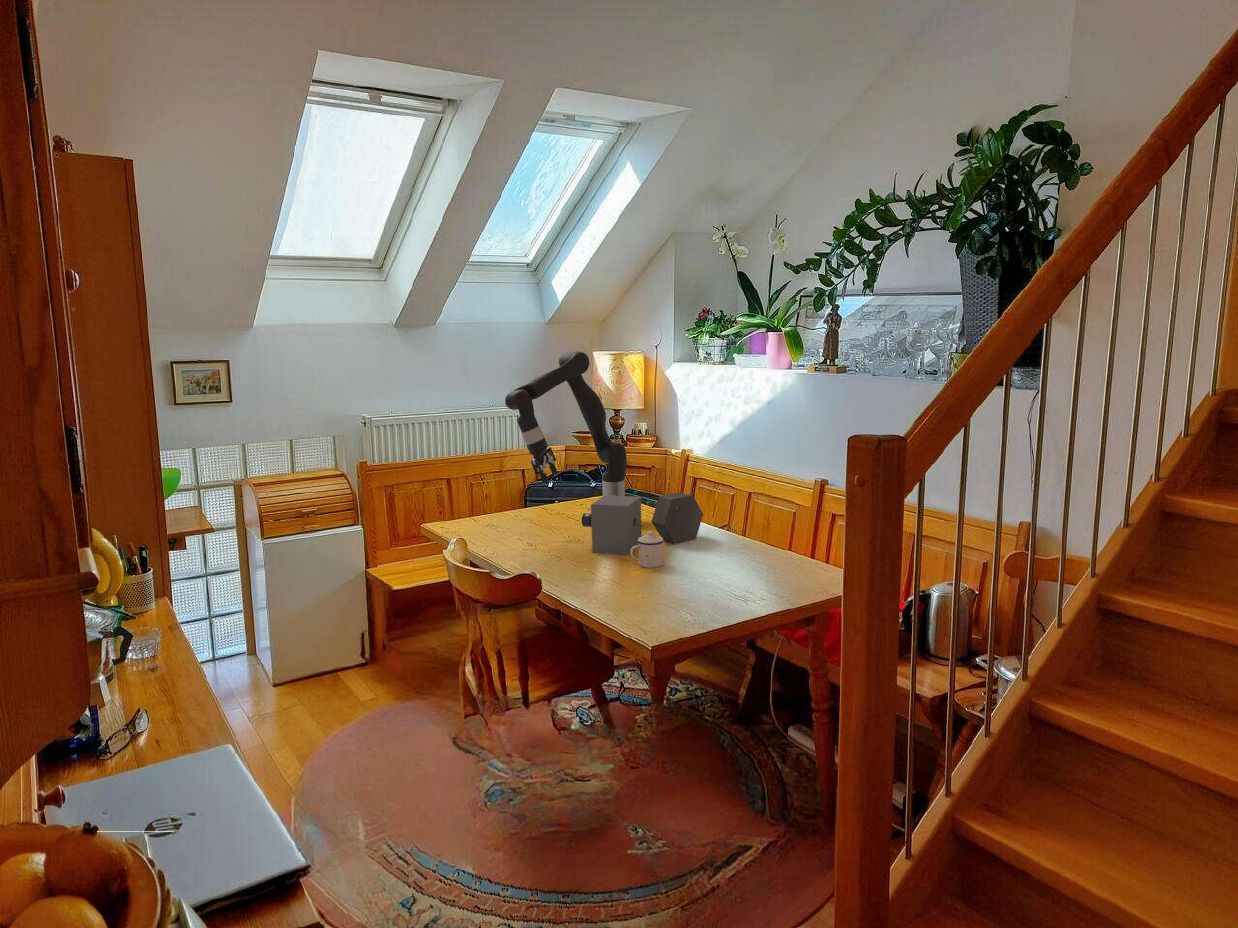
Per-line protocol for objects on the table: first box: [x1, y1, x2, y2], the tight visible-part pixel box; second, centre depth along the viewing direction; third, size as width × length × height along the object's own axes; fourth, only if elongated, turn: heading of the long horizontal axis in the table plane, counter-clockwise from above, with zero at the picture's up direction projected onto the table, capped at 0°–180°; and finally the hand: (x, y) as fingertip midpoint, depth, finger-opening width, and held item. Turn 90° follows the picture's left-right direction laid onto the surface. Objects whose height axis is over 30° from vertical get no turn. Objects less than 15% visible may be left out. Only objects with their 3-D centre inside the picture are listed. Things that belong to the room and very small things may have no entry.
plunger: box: [581, 512, 592, 528], centre depth 320 cm, size 5×19×5 cm, turn 71°
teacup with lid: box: [629, 530, 665, 569], centre depth 297 cm, size 12×9×12 cm
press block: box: [590, 495, 643, 556], centre depth 319 cm, size 16×14×18 cm
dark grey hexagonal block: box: [650, 492, 704, 545], centre depth 328 cm, size 17×8×21 cm
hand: (550, 478), depth 330 cm, fingers open, 8 cm apart
